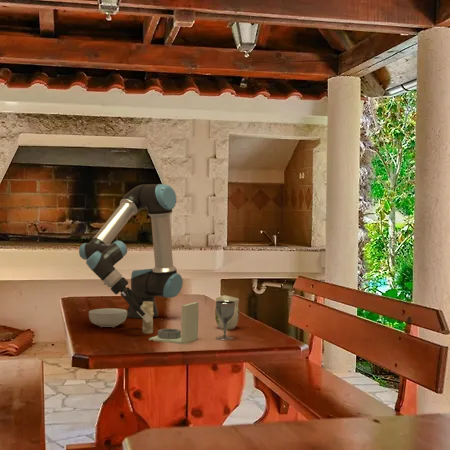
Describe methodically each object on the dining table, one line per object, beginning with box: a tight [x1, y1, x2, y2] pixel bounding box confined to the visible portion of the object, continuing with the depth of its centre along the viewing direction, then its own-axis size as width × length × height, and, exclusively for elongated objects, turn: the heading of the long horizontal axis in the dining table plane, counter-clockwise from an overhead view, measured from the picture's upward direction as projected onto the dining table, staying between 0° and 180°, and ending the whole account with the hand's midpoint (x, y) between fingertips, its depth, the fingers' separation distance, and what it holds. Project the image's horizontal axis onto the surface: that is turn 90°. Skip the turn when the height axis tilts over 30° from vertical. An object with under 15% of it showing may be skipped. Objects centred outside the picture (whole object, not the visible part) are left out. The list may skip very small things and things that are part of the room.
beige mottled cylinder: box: [141, 301, 154, 334], centre depth 294 cm, size 4×4×13 cm
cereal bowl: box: [88, 307, 128, 328], centre depth 308 cm, size 17×17×7 cm
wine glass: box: [215, 300, 235, 341], centre depth 285 cm, size 8×8×15 cm
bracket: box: [148, 301, 200, 345], centre depth 279 cm, size 16×12×15 cm
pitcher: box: [214, 294, 240, 331], centre depth 308 cm, size 11×18×14 cm, turn 10°
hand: (151, 318), depth 294 cm, fingers open, 13 cm apart
